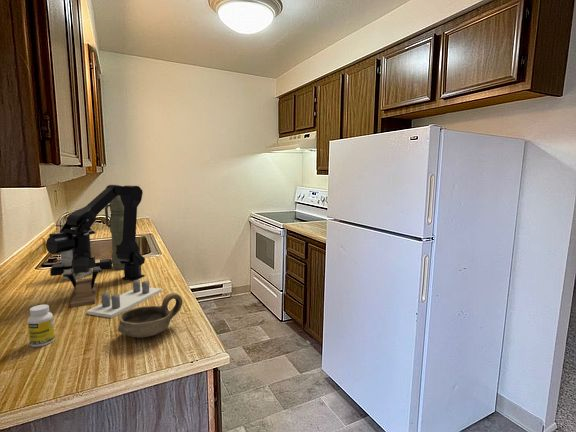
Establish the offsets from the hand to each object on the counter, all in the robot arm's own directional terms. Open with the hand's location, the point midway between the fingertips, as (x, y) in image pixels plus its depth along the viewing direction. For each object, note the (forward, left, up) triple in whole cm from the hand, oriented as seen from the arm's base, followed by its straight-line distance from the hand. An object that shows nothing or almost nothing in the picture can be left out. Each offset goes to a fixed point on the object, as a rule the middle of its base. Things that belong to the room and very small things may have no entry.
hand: (84, 289), depth 119 cm
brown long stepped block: (0, 0, -3) cm, 3 cm away
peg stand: (0, +19, -2) cm, 19 cm away
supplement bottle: (+29, +18, -2) cm, 34 cm away
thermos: (-33, -14, -2) cm, 36 cm away
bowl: (+15, +42, -3) cm, 45 cm away
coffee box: (-16, -22, -3) cm, 27 cm away
